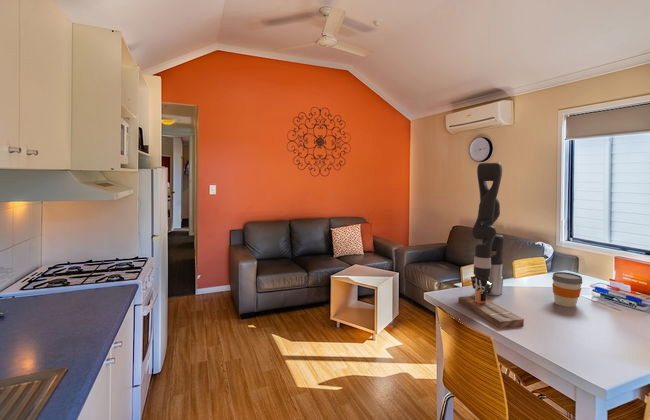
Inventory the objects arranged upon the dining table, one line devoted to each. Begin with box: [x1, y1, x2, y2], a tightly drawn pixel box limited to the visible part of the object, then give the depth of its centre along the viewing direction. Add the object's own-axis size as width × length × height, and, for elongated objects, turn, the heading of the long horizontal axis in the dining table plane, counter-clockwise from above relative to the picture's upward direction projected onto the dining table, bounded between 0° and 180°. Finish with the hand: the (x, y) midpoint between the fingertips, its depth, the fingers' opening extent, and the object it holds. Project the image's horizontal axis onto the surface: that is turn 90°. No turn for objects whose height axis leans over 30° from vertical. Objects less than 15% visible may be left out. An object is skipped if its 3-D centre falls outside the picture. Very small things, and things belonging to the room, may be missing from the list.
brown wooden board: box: [457, 295, 525, 329], centre depth 161 cm, size 12×30×3 cm, turn 12°
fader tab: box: [474, 289, 486, 304], centre depth 166 cm, size 4×3×6 cm
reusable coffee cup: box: [551, 271, 583, 308], centre depth 172 cm, size 13×13×15 cm
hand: (480, 299), depth 166 cm, fingers closed on fader tab, 3 cm apart
